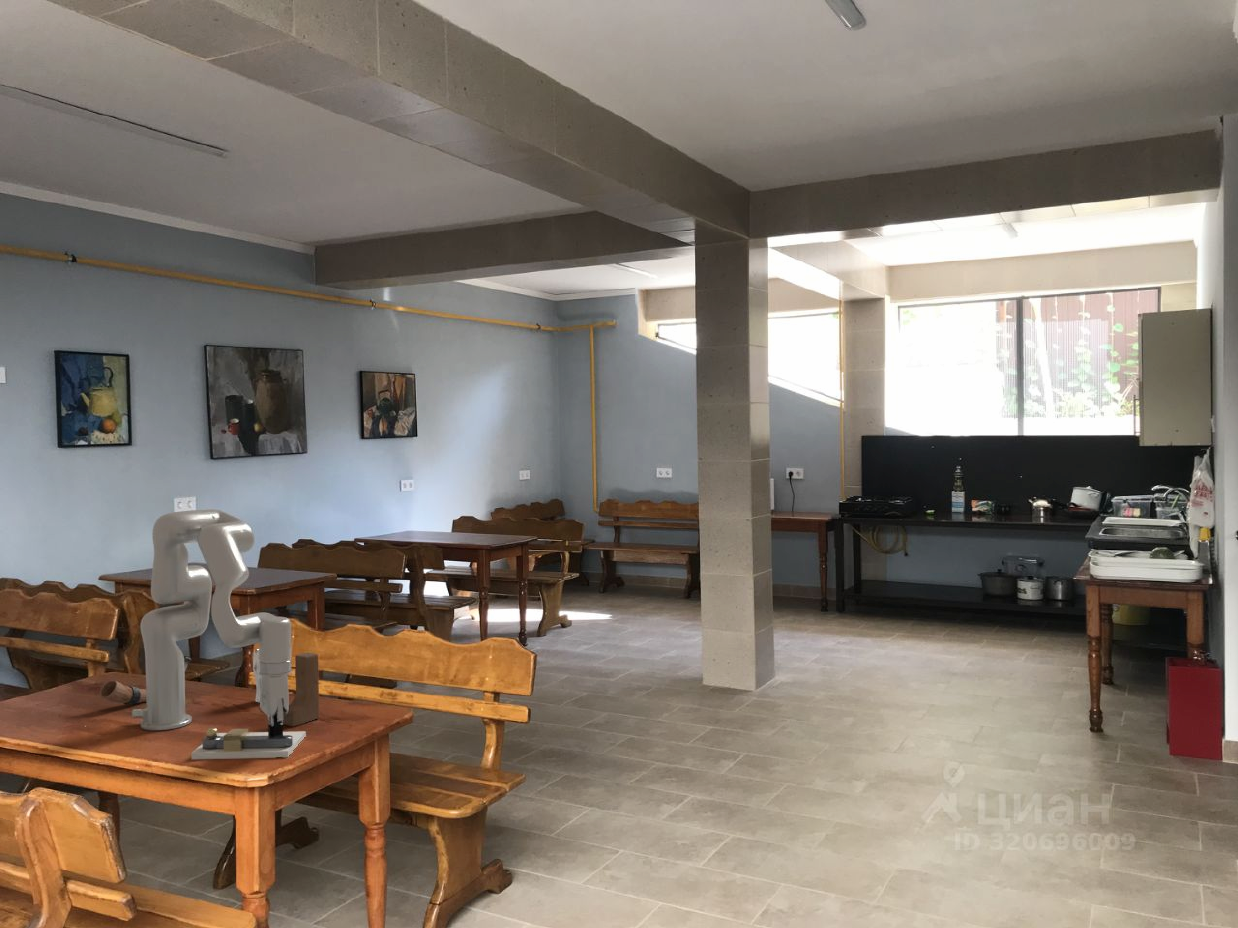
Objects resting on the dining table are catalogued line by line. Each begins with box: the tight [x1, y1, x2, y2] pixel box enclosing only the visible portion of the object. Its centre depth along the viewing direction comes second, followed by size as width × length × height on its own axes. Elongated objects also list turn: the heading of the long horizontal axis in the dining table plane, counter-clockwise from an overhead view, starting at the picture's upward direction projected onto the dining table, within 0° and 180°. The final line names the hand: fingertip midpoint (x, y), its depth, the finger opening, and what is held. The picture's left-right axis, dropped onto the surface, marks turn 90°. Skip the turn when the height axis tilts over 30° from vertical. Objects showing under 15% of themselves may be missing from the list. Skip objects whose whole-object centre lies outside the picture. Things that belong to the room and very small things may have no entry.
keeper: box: [206, 727, 249, 752], centre depth 243 cm, size 9×6×5 cm, turn 93°
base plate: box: [191, 730, 307, 760], centre depth 248 cm, size 23×16×2 cm
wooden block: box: [283, 652, 320, 727], centre depth 270 cm, size 9×4×18 cm, turn 146°
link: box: [201, 735, 293, 749], centre depth 244 cm, size 22×4×2 cm, turn 92°
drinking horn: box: [99, 656, 192, 705], centre depth 293 cm, size 6×30×10 cm, turn 154°
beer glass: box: [252, 648, 262, 704], centre depth 291 cm, size 7×7×15 cm
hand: (275, 739), depth 247 cm, fingers closed
